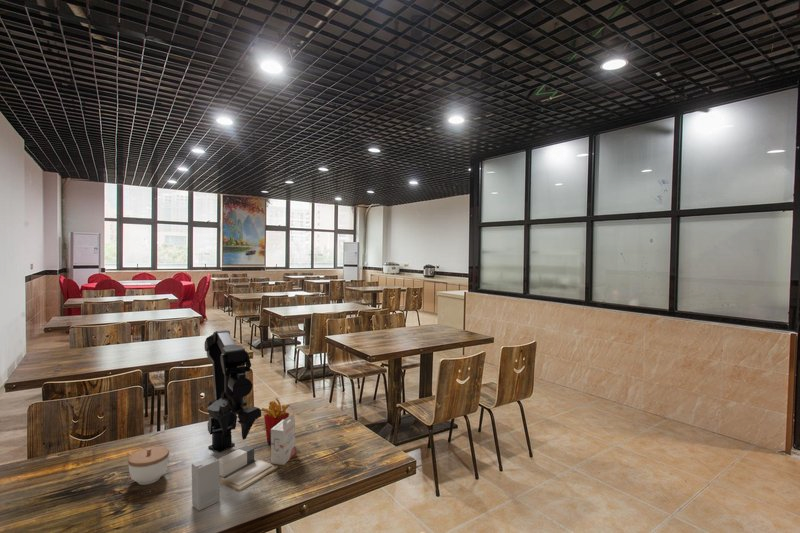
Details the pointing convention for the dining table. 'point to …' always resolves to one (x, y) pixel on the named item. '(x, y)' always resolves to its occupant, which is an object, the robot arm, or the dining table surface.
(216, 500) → the skincare box
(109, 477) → the dining table surface
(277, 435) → the ink cartridge box
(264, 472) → the picture frame
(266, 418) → the french fries
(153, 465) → the lidded jar
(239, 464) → the tall cream pillar
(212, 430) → the robot arm
